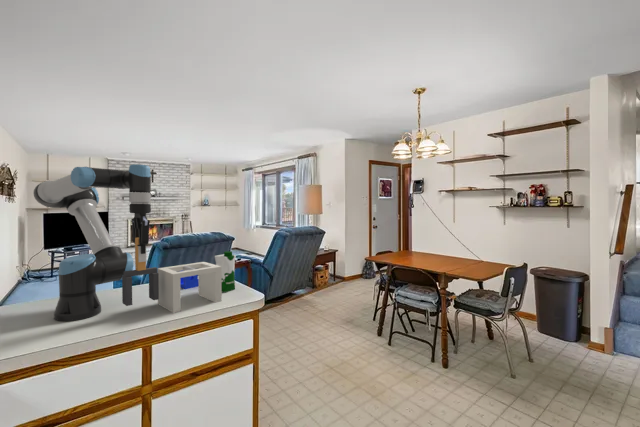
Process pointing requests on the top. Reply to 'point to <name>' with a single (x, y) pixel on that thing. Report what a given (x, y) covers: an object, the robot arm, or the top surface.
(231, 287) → the milk carton
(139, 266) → the wooden handle u-frame
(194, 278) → the bracket
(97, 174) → the robot arm
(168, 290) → the light grey open-top stand
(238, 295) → the top surface
